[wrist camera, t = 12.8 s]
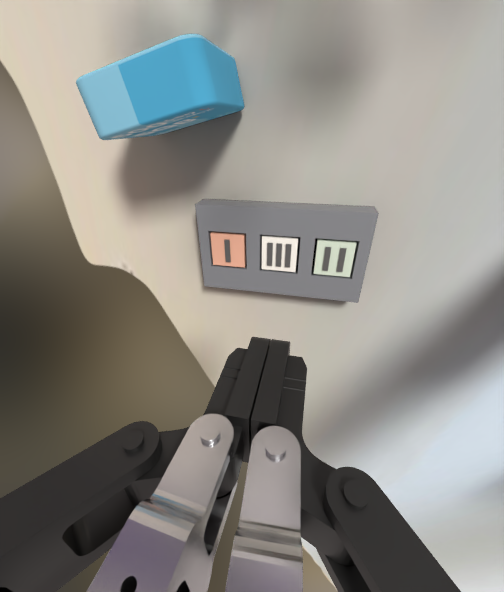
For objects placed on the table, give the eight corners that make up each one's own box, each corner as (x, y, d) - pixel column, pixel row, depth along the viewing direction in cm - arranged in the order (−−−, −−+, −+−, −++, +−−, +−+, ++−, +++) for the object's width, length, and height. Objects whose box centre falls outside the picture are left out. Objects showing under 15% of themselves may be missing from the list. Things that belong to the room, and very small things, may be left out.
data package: (158, 135, 35) (92, 141, 26) (143, 93, 33) (65, 81, 23) (247, 108, 32) (212, 103, 22) (238, 59, 30) (193, 27, 20)
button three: (299, 231, 38) (297, 239, 35) (297, 262, 40) (295, 272, 38) (266, 229, 39) (261, 237, 36) (265, 260, 41) (261, 269, 38)
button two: (354, 235, 36) (356, 244, 34) (348, 267, 39) (349, 277, 36) (318, 232, 37) (317, 241, 35) (314, 264, 40) (313, 274, 37)
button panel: (374, 206, 34) (378, 213, 32) (356, 291, 40) (358, 302, 38) (203, 198, 38) (195, 204, 36) (211, 276, 45) (204, 286, 42)
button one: (249, 228, 39) (243, 236, 36) (249, 258, 42) (244, 268, 39) (217, 226, 40) (209, 233, 37) (219, 256, 42) (212, 265, 40)
